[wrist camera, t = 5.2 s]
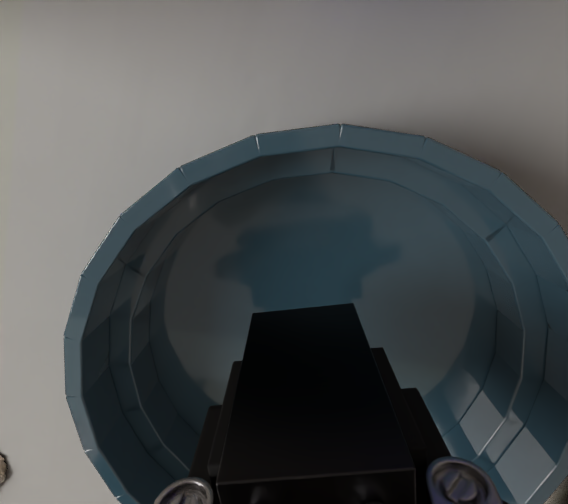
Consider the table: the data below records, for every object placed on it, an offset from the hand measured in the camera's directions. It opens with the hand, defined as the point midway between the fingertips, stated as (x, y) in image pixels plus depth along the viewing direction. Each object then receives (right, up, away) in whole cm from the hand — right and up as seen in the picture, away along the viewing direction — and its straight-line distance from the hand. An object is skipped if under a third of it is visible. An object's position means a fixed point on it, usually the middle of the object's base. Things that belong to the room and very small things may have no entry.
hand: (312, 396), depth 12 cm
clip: (0, 0, +1) cm, 1 cm away
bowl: (+1, +1, +4) cm, 4 cm away
